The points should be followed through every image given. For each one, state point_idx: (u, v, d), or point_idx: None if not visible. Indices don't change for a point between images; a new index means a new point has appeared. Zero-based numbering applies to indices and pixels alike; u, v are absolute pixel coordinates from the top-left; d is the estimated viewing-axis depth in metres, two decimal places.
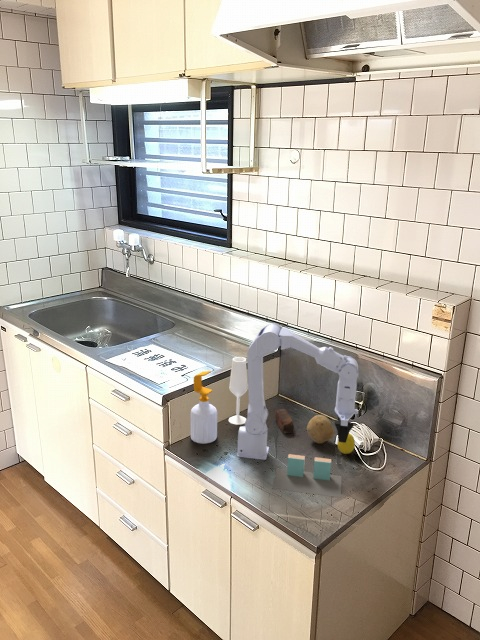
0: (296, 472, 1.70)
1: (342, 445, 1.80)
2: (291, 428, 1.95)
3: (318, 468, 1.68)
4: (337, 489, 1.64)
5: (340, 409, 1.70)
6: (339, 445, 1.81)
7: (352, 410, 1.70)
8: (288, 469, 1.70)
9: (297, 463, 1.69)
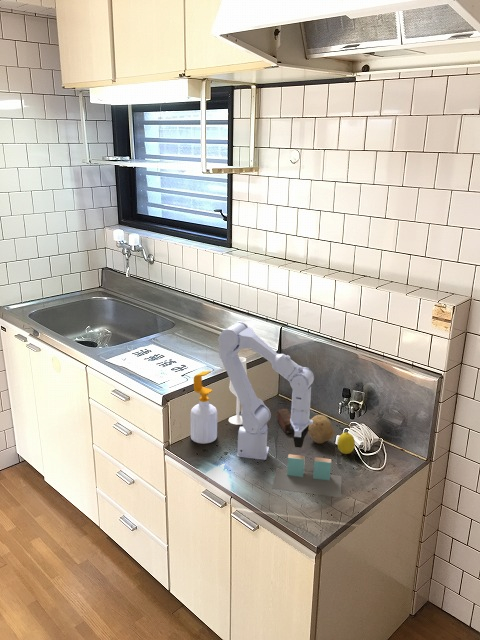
0: (296, 472, 1.70)
1: (342, 445, 1.80)
2: None
3: (318, 468, 1.68)
4: (337, 489, 1.64)
5: (295, 420, 1.70)
6: (339, 445, 1.81)
7: (307, 421, 1.71)
8: (288, 469, 1.70)
9: (297, 463, 1.69)
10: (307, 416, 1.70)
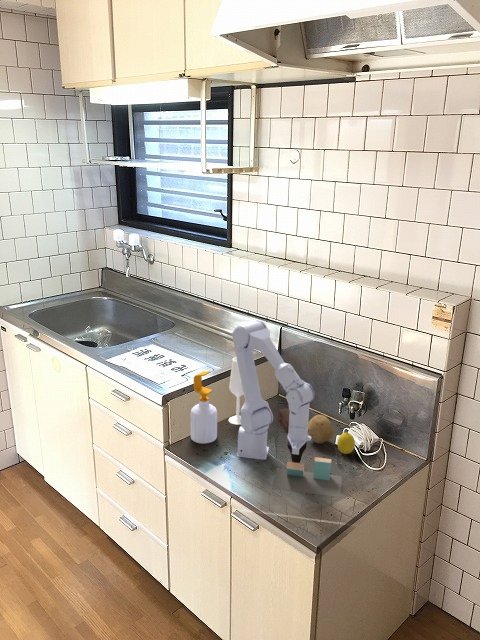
0: (296, 474, 1.69)
1: (342, 445, 1.80)
2: None
3: (318, 468, 1.68)
4: (337, 489, 1.64)
5: (292, 436, 1.65)
6: (339, 445, 1.81)
7: (305, 437, 1.65)
8: (287, 473, 1.69)
9: (296, 471, 1.66)
10: (305, 432, 1.65)
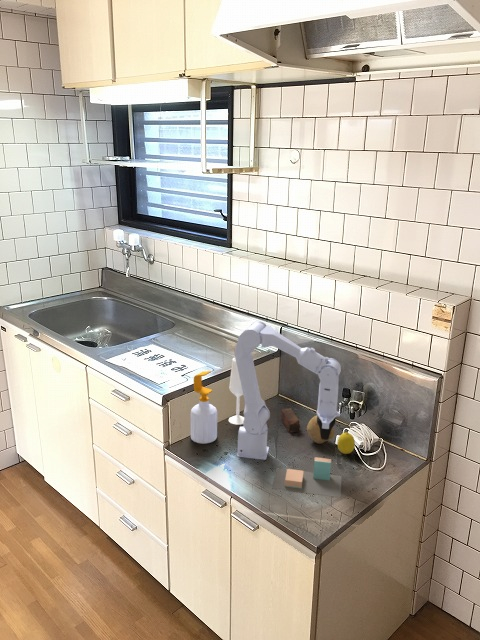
0: None
1: (342, 445, 1.80)
2: (297, 427, 1.96)
3: (318, 468, 1.68)
4: (337, 489, 1.64)
5: (322, 411, 1.68)
6: (339, 445, 1.81)
7: (334, 413, 1.68)
8: None
9: None
10: (334, 408, 1.68)
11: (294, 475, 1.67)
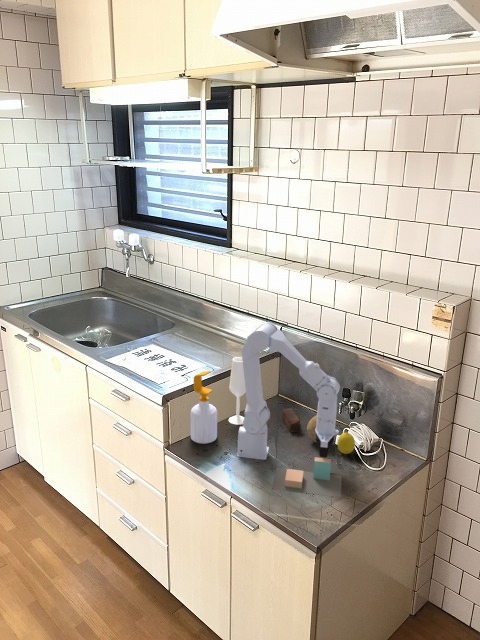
0: None
1: (342, 445, 1.80)
2: (298, 427, 1.96)
3: (318, 468, 1.68)
4: (337, 489, 1.64)
5: (321, 430, 1.69)
6: (339, 445, 1.81)
7: (332, 431, 1.69)
8: None
9: None
10: (333, 426, 1.69)
11: (294, 475, 1.67)
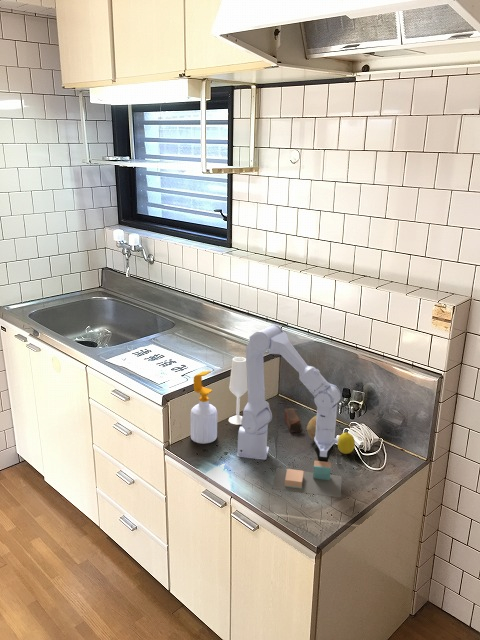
0: None
1: (342, 445, 1.80)
2: (298, 427, 1.96)
3: (318, 471, 1.67)
4: (337, 489, 1.64)
5: (320, 438, 1.64)
6: (339, 445, 1.81)
7: (332, 440, 1.64)
8: None
9: None
10: (332, 435, 1.64)
11: (294, 475, 1.67)
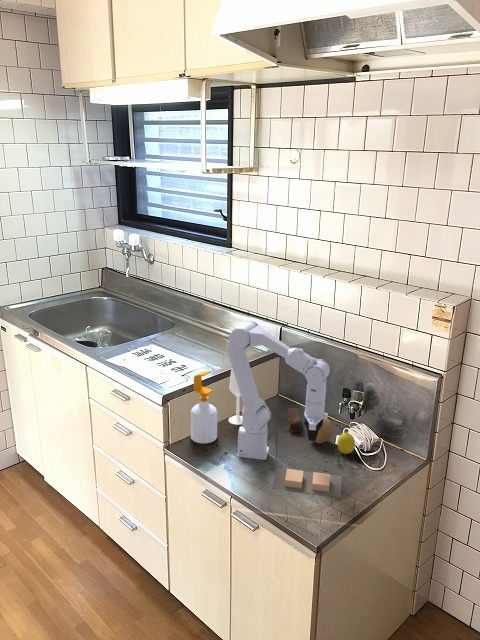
0: None
1: (342, 445, 1.80)
2: (298, 427, 1.96)
3: None
4: (337, 489, 1.64)
5: (309, 412, 1.67)
6: (339, 445, 1.81)
7: (321, 414, 1.67)
8: None
9: None
10: (322, 409, 1.67)
11: (294, 475, 1.67)
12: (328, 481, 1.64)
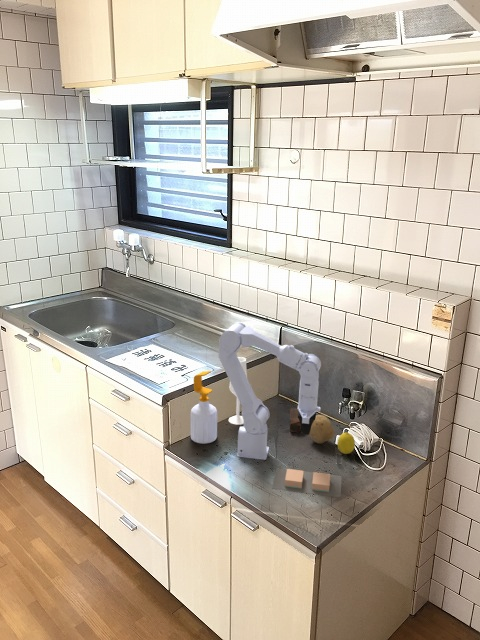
0: None
1: (342, 445, 1.80)
2: (298, 427, 1.96)
3: None
4: (337, 489, 1.64)
5: (302, 406, 1.70)
6: (339, 445, 1.81)
7: (314, 408, 1.70)
8: None
9: None
10: (315, 403, 1.70)
11: (294, 475, 1.67)
12: (328, 481, 1.64)
